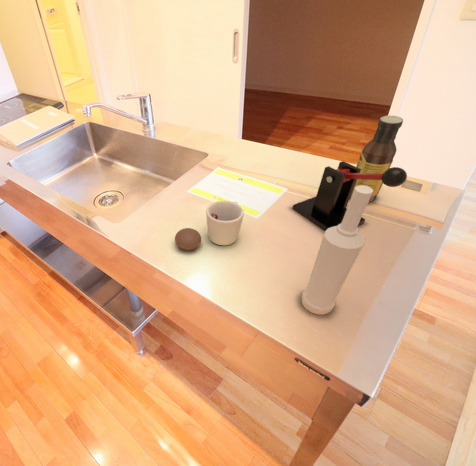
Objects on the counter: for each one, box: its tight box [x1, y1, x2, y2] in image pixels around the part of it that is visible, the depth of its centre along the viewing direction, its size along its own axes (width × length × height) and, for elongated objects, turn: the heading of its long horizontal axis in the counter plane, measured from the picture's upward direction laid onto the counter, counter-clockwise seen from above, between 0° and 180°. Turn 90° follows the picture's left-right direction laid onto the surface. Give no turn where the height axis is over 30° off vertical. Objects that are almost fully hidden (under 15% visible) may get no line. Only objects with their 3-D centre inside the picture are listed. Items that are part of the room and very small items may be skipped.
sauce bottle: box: [350, 115, 404, 203], centre depth 73 cm, size 6×6×20 cm
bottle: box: [301, 185, 373, 316], centre depth 50 cm, size 5×5×25 cm
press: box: [292, 160, 366, 232], centre depth 72 cm, size 12×9×13 cm
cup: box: [205, 200, 245, 246], centre depth 73 cm, size 11×8×8 cm
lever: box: [335, 166, 408, 188], centre depth 64 cm, size 14×4×4 cm, turn 21°
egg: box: [174, 227, 202, 251], centre depth 73 cm, size 6×6×4 cm
